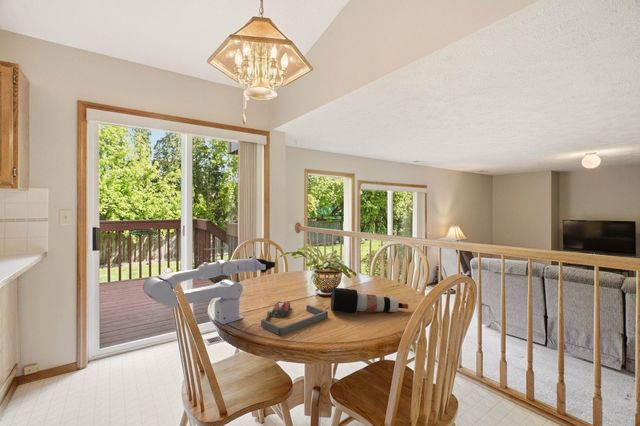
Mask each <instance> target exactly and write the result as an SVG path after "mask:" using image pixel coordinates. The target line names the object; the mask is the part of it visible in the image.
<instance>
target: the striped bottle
mask: <svg viewBox="0 0 640 426" xmlns="http://www.w3.org/2000/svg"><path fill="white" fill-rule="evenodd" d="M409 308H410V307H409V304H408V303H403V302H399V300H398V298H397V297H388V296H381V295H376V294H368V293H367V294H366V293H362V292H358V290H357V289H354V288H351V289H350V288H341V287H332V291H331V297H330V310H331V312H336V313H346V314H347V313H348V314H356V313H357V311H359V312H360V311H361V312H362V311H363V312H384V313H388V312H389V313H397V312H398V311H399V309H406V310H408V309H409Z"/></svg>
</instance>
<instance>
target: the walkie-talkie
mask: <svg viewBox="0 0 640 426" xmlns="http://www.w3.org/2000/svg"><path fill="white" fill-rule="evenodd" d="M290 309H291V302H289V301H277V302H276V303H275V304H274V306H272V307H270V308H269V309H268V310H267V311H266V318H265V319H264V320H266V321H268V322H269V318H270V317H273V318H274V317H281V318H283V317H284V318H285V317H288V315H289V312H290Z"/></svg>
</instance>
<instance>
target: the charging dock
mask: <svg viewBox="0 0 640 426" xmlns="http://www.w3.org/2000/svg"><path fill="white" fill-rule="evenodd" d="M305 307H306V310H305V311H306V312H308V313H310V314H313V315H311V316H309V317H305V318H303V319H300V320H297V321H295V322H292V323H290V324H286V325H283V326H278V325H277V324H274V323H272V322H270V321H269V320H268V321H266V320H265V319H261V320H260V321H261V323H260V327H262V328H264V329H266V330H267V331H270V332H272V333H273V334H275V335H277V336H279V337H281V336H284V335H286V334H289V333H292V332H294V331H296V330H299V329H300V330H301V329H302V328H304V327H308V326H309V325H312V324H315V323H318V322H320V321H323V320H325V319H327V318H328V311H327V310H324V309H321V308H318V307H315V306H313V305H310V304H306V306H305Z"/></svg>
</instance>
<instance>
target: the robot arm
mask: <svg viewBox="0 0 640 426" xmlns="http://www.w3.org/2000/svg"><path fill="white" fill-rule="evenodd" d="M273 268H276V262H275V261H268V260H266V259H264V258H256V255H250V256H249V257H248V258H240V259H239V258H238V259H229V260H225V259H217V260H215V261H214V262H209V263H208V262H206V261H205V262H202V264H199V265H198V267H197V268H195V269H187V270H186V269H185V270H181V271H174V272H167V273H162V274H158V275H157V276H150V277H148V278H146V279H145V281H144V282H143V284H142V290H143V292H144V293H145V294H146V295H147V296H148V297H149V298H150V299H152V300H154V301H155V302H156V303H158V304H161V305H164V306H166V307H168V308H175V307H179V306H178V302H177V297H176V293H175V292H176V291H174V290H175V288H176V287H177V285H178V284H179V283H182V282H187V281H190V280H194V279H200V280H202V281H203V280H208V279H213V278H217V277H220V276H221V275H222V276H226V277H230V276H231V275H232V274H243V273H250V272H252V273H253V272H254V273H255V272H258V271H260V273H263V274H264V273H266V272H267V271H269V270H271V269H273ZM243 290H244V287H243V285H242V284H241V283H240V282H236V281H233V280H231V279H228V278H224V279H222V280H221V281H219V282H216V283H215V284H212V285H207V286H202V287H197V288H195V287H194V288H190V289H186V290H182V291H183V292H184V294H185V297H186V299H187V301H188V303H189V304H188V305H190V304H194V303H200V302H205V301H208V300H209V301H210V300H212V299H213V300H214V299H217V300H215V302H214V317H213V320H214V321H216V322H218V323H220V324H221V325H226V324H229V323H232V322H236V321H238V320H239V321H240V320H242V319H244V318H245V317H244V316H242V314H241V315H240V299H241V296H242V294H243V292H244V291H243ZM184 294H183V295H184ZM218 298H219V299H218Z"/></svg>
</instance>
